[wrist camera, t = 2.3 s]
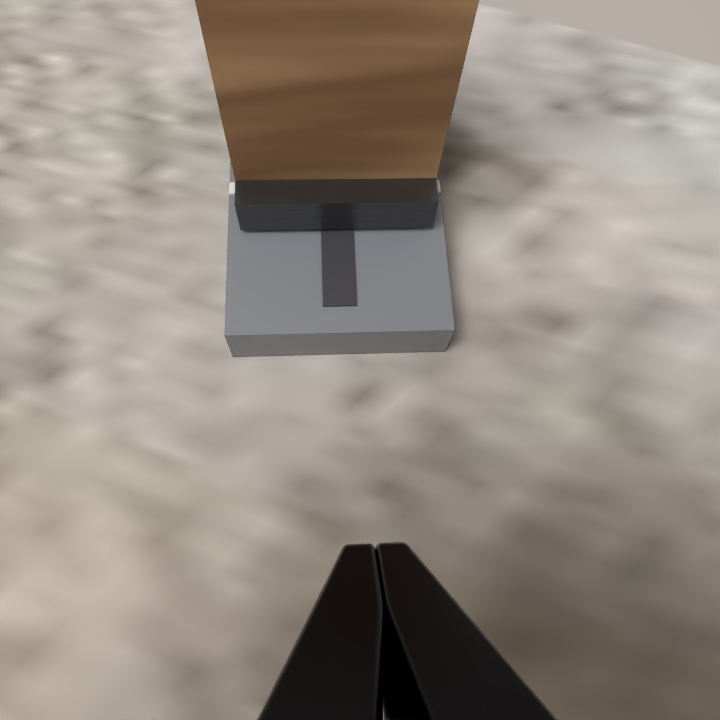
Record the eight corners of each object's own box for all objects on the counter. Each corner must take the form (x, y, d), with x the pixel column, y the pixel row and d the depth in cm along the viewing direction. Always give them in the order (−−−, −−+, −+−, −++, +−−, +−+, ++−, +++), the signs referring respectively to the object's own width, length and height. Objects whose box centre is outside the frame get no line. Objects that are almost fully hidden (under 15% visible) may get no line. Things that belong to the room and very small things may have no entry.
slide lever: (432, 227, 24) (523, -127, 12) (240, 230, 24) (154, -132, 12) (423, 139, 25) (499, -250, 14) (243, 141, 25) (167, -258, 14)
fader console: (445, 351, 25) (455, 328, 23) (233, 356, 24) (223, 334, 22) (415, 50, 30) (421, 11, 28) (241, 51, 30) (235, 10, 28)
